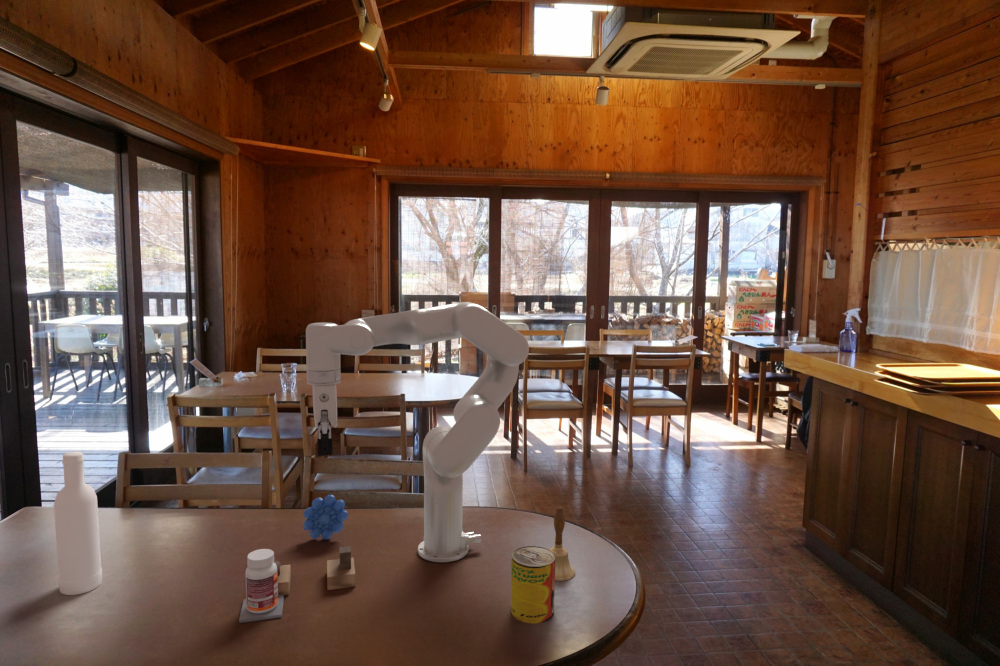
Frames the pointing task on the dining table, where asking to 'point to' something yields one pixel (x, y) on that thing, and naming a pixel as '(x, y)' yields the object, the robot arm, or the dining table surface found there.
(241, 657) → the dining table surface
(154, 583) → the dining table surface
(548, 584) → the beverage can
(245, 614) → the coaster
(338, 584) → the wooden knob block
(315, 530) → the blue flower
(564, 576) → the hand bell
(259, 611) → the pill bottle
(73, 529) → the bottle
